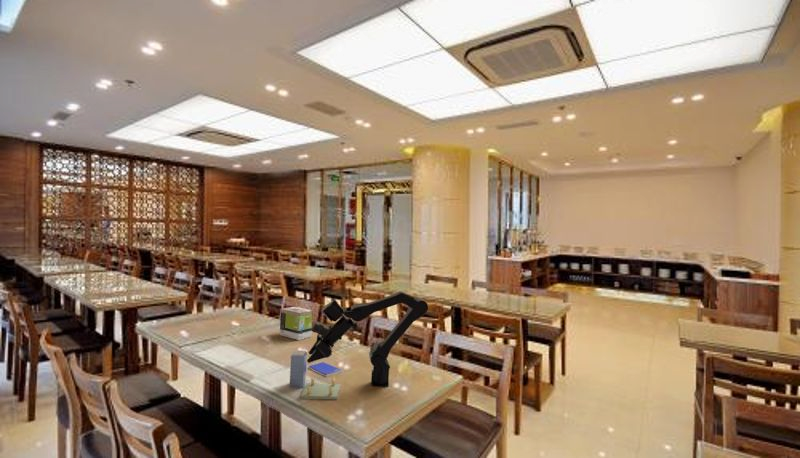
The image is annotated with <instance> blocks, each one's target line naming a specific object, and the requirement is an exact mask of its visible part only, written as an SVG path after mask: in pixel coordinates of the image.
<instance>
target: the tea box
mask: <svg viewBox="0 0 800 458" xmlns="http://www.w3.org/2000/svg"><path fill="white" fill-rule="evenodd" d="M279 319H280V320H279V321H280V322H279V324H280V325H279V336H282V337H286V338H290V339H293V340H297V341H300V340H304V338H305V339H307V338H311V337H312V333H313V331H312V327H313V309H309V308H304V307H298V306H291V307H290V306H289V307H285V308H280V318H279Z"/></svg>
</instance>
